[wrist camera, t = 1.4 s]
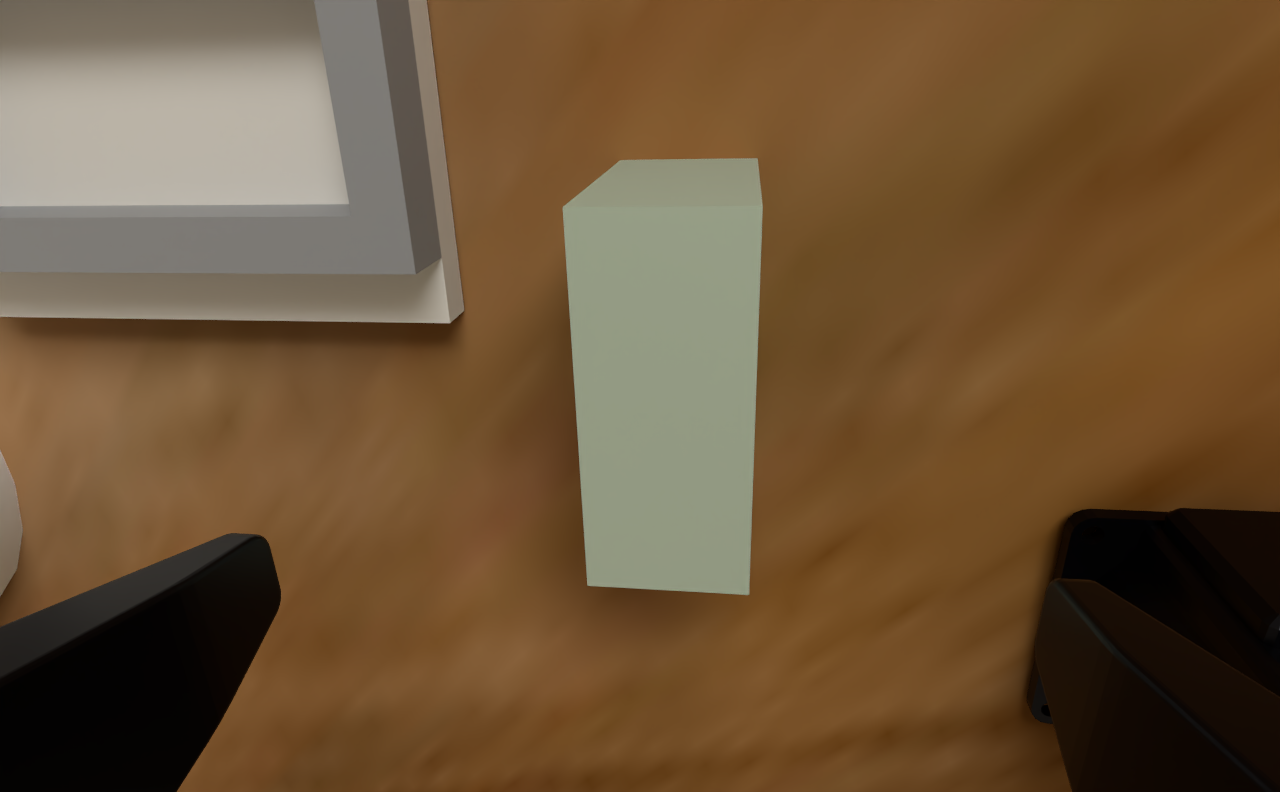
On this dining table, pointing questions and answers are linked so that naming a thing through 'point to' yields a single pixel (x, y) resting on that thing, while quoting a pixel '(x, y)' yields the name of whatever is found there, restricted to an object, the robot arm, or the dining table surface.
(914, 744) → the dining table surface
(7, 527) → the honey pot
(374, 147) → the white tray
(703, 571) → the pale green block
